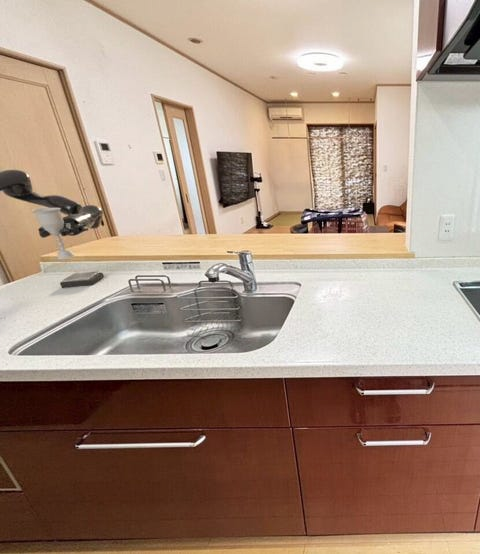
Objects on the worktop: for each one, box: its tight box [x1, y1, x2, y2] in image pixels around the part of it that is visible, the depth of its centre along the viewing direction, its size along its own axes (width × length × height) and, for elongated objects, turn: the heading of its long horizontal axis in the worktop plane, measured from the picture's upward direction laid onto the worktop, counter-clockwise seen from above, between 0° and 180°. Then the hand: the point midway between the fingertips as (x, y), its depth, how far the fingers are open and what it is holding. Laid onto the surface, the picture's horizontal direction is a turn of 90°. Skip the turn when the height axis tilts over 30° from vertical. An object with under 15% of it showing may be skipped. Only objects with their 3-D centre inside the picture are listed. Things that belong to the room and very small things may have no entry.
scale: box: [59, 270, 105, 289], centre depth 120 cm, size 10×9×3 cm
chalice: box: [31, 207, 76, 260], centre depth 109 cm, size 7×7×18 cm
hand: (52, 234), depth 107 cm, fingers closed on chalice, 5 cm apart
